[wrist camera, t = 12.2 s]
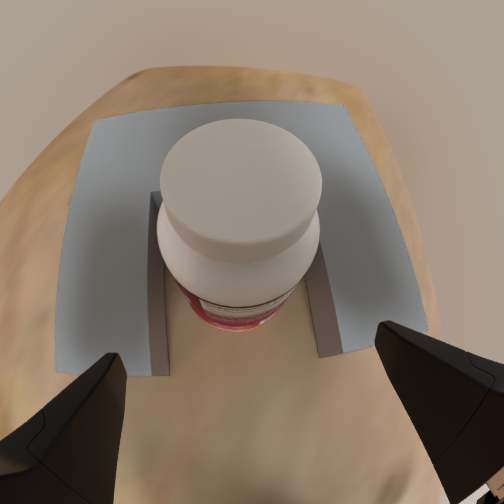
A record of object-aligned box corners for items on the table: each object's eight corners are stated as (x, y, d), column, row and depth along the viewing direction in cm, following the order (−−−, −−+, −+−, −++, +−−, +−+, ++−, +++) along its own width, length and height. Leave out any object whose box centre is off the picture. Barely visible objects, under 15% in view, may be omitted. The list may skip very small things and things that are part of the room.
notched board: (393, 340, 17) (428, 330, 13) (89, 374, 15) (56, 372, 11) (331, 137, 24) (343, 105, 20) (108, 153, 22) (94, 121, 18)
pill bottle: (189, 239, 19) (156, 104, 9) (281, 240, 19) (327, 109, 9) (183, 332, 16) (114, 269, 6) (286, 333, 17) (366, 272, 7)
